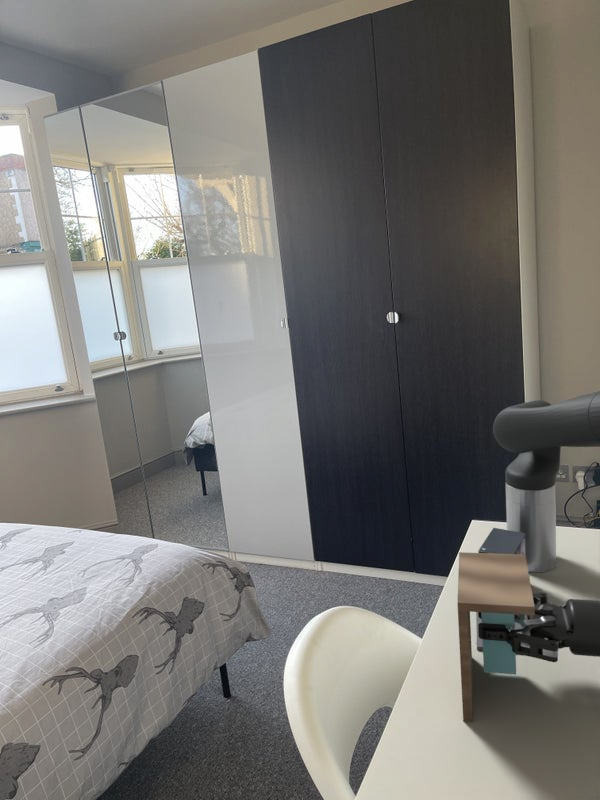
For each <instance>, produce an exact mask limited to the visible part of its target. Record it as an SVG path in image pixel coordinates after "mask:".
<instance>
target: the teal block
mask: <svg viewBox="0 0 600 800" xmlns="http://www.w3.org/2000/svg"><path fill="white" fill-rule="evenodd" d="M481 618H482V623H488V624H504V625H505V628H506V626H507V625H513V624H514V625H515V620H514V614H502V613H485V612H481ZM482 640H483V650H482V657H483V659H482V660H483V672H484V673H491V674H504V675H515V676H517V655H516V654H517V653H514V652H513V651H512V647H511V645H509V644H507V642H506V641H495V640H485V639H482Z"/></svg>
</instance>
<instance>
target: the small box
mask: <svg viewBox="0 0 600 800" xmlns="http://www.w3.org/2000/svg"><path fill="white" fill-rule="evenodd" d="M477 551H478V552H477V553H495V554H525V533H522V532H516V531H509V530H507V529H504V528H498V527H493V528H492V529H491V530H490V532H489V534H488V535H487V537H486V538H485V539H484V541H483V543H482V545H481V546H480V547H479V548H478V550H477Z"/></svg>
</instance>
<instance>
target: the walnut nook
mask: <svg viewBox="0 0 600 800" xmlns="http://www.w3.org/2000/svg"><path fill="white" fill-rule="evenodd" d="M457 575H458V576H457V577H458V580H457V618H458V619H457V620H458V621H457V622H458V623H457V624H458V640H459V641H458V643H459V660H460V661H459V663H460V677H461V678H460V679H461V680H460V683H461V698H462V699H461V700H462V705H461V706H462V721H463V722H469V723H473V654H472V653H473V651H472V649H473V648H472V630H471V628H472V627H471V613H472V612H473V613H476V612H485V613H502V614H519V615H535V606H534V601H533V595H532V593H533V590H532V585H531V579H530V572H528V568H527V562H526V556H525V554H495V553H478V552H465V551H464V552H459V553H458V574H457Z"/></svg>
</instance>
